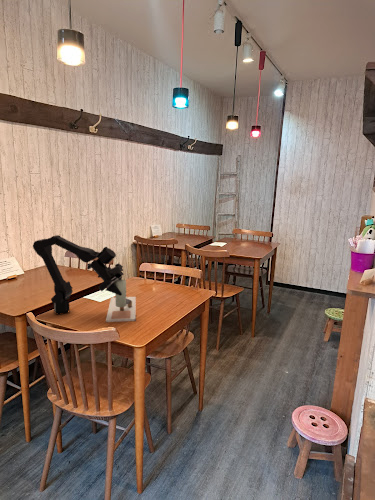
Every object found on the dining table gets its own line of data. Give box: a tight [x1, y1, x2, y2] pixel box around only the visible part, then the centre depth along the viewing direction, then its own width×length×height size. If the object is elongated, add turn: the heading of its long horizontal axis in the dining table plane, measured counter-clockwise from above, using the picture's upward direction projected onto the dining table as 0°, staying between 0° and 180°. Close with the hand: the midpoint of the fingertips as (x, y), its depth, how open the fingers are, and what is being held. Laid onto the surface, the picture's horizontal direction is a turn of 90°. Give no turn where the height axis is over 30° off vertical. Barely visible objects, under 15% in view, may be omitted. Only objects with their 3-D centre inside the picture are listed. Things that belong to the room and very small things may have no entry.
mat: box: [111, 311, 131, 319], centre depth 170 cm, size 9×9×1 cm
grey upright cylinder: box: [114, 279, 127, 307], centre depth 168 cm, size 5×5×12 cm
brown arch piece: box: [120, 299, 132, 311], centre depth 182 cm, size 8×11×4 cm
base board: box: [105, 296, 137, 323], centre depth 181 cm, size 34×14×1 cm, turn 8°
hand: (123, 293), depth 168 cm, fingers closed on grey upright cylinder, 5 cm apart
